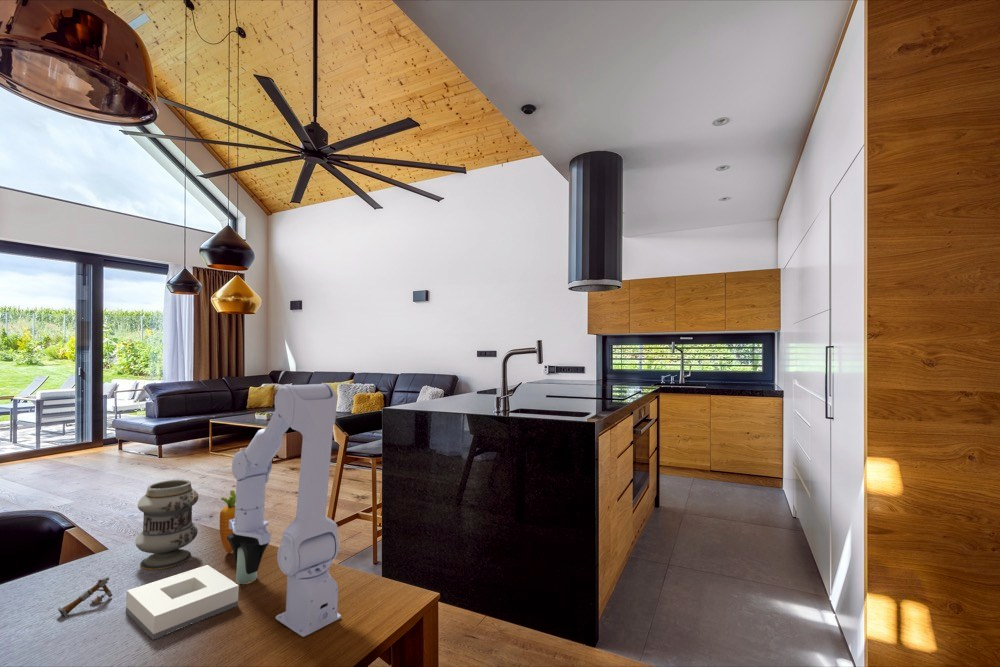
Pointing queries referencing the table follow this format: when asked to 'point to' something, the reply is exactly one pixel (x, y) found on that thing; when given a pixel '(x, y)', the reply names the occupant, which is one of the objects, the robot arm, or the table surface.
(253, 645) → the table surface
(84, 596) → the wooden post with brackets
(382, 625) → the table surface
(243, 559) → the peg
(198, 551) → the table surface
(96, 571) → the table surface
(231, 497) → the carrot
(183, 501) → the apothecary jar
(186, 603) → the socket block
